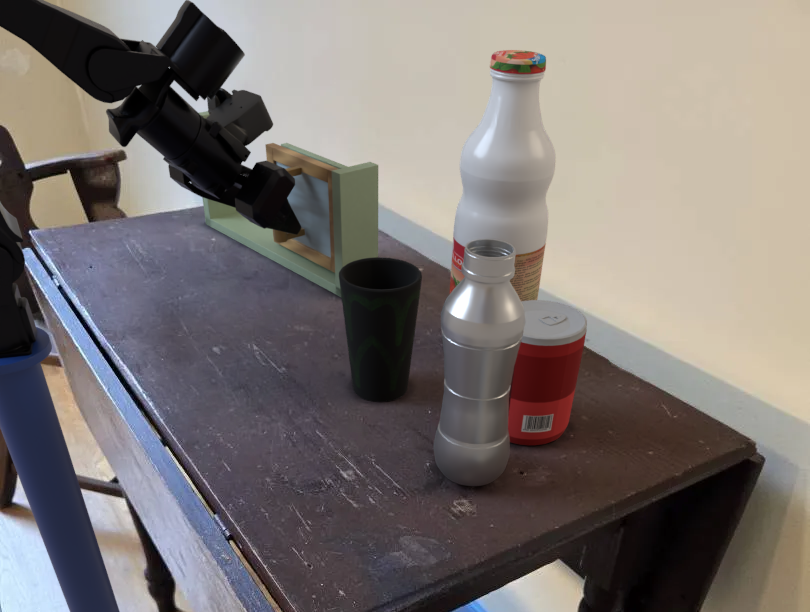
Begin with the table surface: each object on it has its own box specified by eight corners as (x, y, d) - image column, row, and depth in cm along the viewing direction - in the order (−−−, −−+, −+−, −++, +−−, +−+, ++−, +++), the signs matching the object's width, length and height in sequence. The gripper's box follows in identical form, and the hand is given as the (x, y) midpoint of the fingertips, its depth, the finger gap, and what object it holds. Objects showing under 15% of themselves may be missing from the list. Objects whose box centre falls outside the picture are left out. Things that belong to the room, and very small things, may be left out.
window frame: (205, 224, 112) (189, 113, 103) (238, 216, 115) (226, 107, 106) (343, 299, 95) (340, 174, 85) (378, 287, 98) (378, 164, 88)
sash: (247, 249, 102) (236, 150, 94) (281, 239, 105) (273, 142, 97) (311, 283, 94) (305, 179, 86) (346, 272, 97) (343, 170, 89)
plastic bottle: (477, 506, 65) (503, 275, 52) (416, 473, 69) (425, 248, 55) (521, 472, 69) (555, 248, 56) (460, 442, 72) (479, 224, 59)
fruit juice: (525, 371, 83) (569, 69, 64) (438, 360, 84) (457, 60, 66) (534, 332, 90) (575, 48, 71) (453, 322, 91) (474, 41, 72)
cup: (353, 365, 83) (350, 253, 75) (423, 373, 82) (428, 261, 74) (333, 402, 77) (329, 285, 69) (409, 412, 76) (412, 294, 68)
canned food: (583, 424, 75) (605, 318, 68) (533, 458, 71) (551, 348, 64) (519, 394, 79) (534, 291, 72) (469, 425, 75) (479, 317, 67)
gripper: (272, 83, 76) (361, 181, 89) (175, 51, 86) (267, 143, 99) (213, 183, 77) (308, 266, 90) (124, 140, 87) (221, 220, 100)
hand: (276, 219), depth 95 cm, fingers open, 9 cm apart
